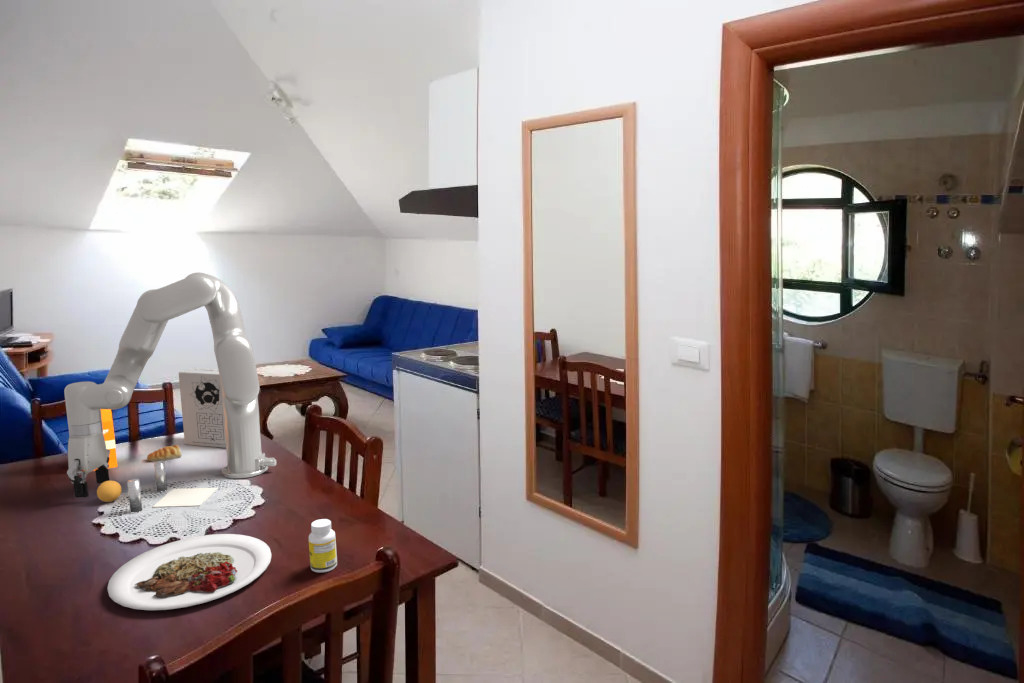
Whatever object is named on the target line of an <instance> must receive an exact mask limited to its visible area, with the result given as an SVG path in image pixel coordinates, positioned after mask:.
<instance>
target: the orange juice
mask: <svg viewBox="0 0 1024 683" xmlns="http://www.w3.org/2000/svg"><path fill="white" fill-rule="evenodd" d="M101 417H102V426H103V435H104V439H105V443H106V449H109V450H110V455H109V458H110V459H109V463H108V464H109V468H108V469H114V468H117V467H118V459H117V449H116V448H117V447H116V438H115V431H114V430H115V429H114V421H113V413H112V409H101ZM95 470H96V469H95ZM95 470H94V471H93V472H95ZM82 471H84V470H82Z"/></svg>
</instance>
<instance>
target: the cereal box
mask: <svg viewBox="0 0 1024 683" xmlns="http://www.w3.org/2000/svg"><path fill="white" fill-rule="evenodd" d="M178 380H179V382H178V383H179V393H180V403H181V404H180V405H181V417H182V428H183V429H182V430H183V440H184V445H185V446H186V445H188V446H199V447H211V448H223V449H226V439H225V426H224V412H223V401H222V393H221V379H220V375H219V370H218V368H210V367H209V368H208V367H192V368H189V369H186V370H184V369H183V370H182V371H181V370H180V371H179V372H178Z"/></svg>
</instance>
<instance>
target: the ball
mask: <svg viewBox="0 0 1024 683" xmlns="http://www.w3.org/2000/svg"><path fill="white" fill-rule="evenodd" d="M121 495H122V486H121V484H120V483H119V482H117V481H115V480H109V481H105V482H103V483H101V484H99V486H98V487H97V490H96V496H97V498H98V499H99V500H100V501H102V502H105V503H111V502H115V501H116V500H118V498H119V497H120V496H121Z"/></svg>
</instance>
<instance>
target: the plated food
mask: <svg viewBox="0 0 1024 683" xmlns="http://www.w3.org/2000/svg"><path fill="white" fill-rule="evenodd" d="M271 551H272V550H271V548H270V546H269V545H268V544H267V543H266V542H264V541H263V540H261V539H259V538H257V537H253V536H250V535H245V534H235V533H220V534H219V533H215V534H213V533H212V534H206V535H198V536H194V537H187V538H182V539H180V540H179V539H178V540H176V541H172V542H167V543H166V544H163V545H159V546H157V547H156V546H155V548H152V549H150V550H146V551H145V552H143V553H140V554H139V555H137V556H135V557H133V558H132V559H130V560H129V561H127V562H126V563H124V564H123V565H121V566H120V567H119V568H118V569H116V571H115V572H114V573H113V574H112V575H111V577H110V579H109V580H108V584H107V592H108V596H109V598H110V599H111V600H112V601H113V602H114V603H117V604H118V605H120V606H122V607H125V608H130V609H133V610H142V611H143V610H144V611H167V610H174V609H181V608H188V607H193V606H196V605H200V604H204V603H208V602H211V601H213V600H217V599H220V598H223V597H225V596H227V595H230V594H232V593H234V592H236V591H239V590H240V589H242V588H244V587H246V586H247V585H249V584H251V583H252V582H254V581H255V580H257V579H258V578H259V577H260V576H261V575H262V574H263V573H264V572H266V570H267V569H268V567H269V566H270V563H271V561H272V552H271Z"/></svg>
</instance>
